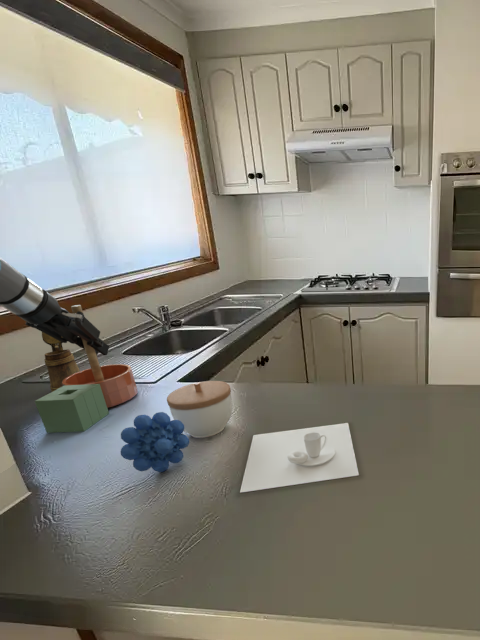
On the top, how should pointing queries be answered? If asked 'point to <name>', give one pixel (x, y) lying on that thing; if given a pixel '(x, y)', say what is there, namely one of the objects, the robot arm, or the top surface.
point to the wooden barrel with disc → (58, 362)
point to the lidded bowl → (202, 407)
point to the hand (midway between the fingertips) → (101, 350)
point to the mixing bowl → (108, 382)
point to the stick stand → (72, 408)
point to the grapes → (154, 442)
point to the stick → (90, 353)
